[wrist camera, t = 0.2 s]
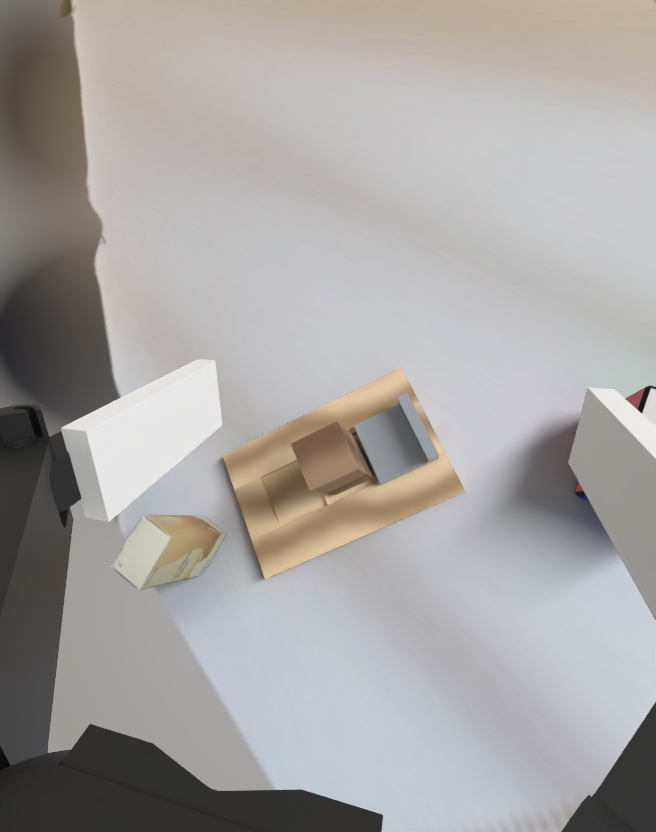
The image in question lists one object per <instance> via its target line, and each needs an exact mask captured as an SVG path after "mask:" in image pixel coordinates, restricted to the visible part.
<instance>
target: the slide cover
mask: <svg viewBox="0 0 656 832" xmlns="http://www.w3.org/2000/svg"><path fill="white" fill-rule="evenodd" d="M397 399H398V402H399V404H398V405H396V406H394V407H392V408H390V409H388V410H385V411H383V412H381V413H379V414H377V415H375V416H373V417H371V418H369V419H367V420H365V421H363V422H360V423H358V424H356V425H354V427H355V430H356V432H357V434H358V436H359V438H360V440H361V443H362V445H363V447H364V449H365V451H366V454H367V456H368V458H369V460H370V462H371V465H372V467H373V469H374V471H375V473H376V476H377V478H378V480H379V482H380V484H381V485H382V484H384V483H387V482H389V481H391V480H393V479H395V478H398V477H400V476H402V475H404V474H406V473H409V472H411V471H413V470H415V469H417V468H420V467H422V466H424V465H426V464H428V463H431V462H433V461H435V460H437V459H439V454H438V452H437V450H436V448H435V446H434V444H433V442H432V440H431V438H430V436H429V434H428V432H427V430H426V428H425V426H424V424H423V422H422V420H421V418H420V416H419V414H418V412H417V411H416V409H415V407H414V405H413V403H412V401H411V399H410V397H409V395H408V393H405V394H403V395H401V396H399V397H397Z"/></svg>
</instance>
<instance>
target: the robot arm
mask: <svg viewBox="0 0 656 832" xmlns="http://www.w3.org/2000/svg"><path fill="white" fill-rule="evenodd" d="M221 425H222V419H221V410H220V401H219V392H218V383H217V374H216V365H215V361H214V360H200V359H197V360H195V361H193V362H191V363H189V364H187V365H185V366H183V367H181V368H179V369H177V370H175V371H173V372H171V373H169V374H167V375H165V376H163V377H161V378H159V379H157V380H155V381H153V382H151V383H149V384H147V385H145V386H143V387H141V388H139V389H137V390H135V391H133V392H131V393H129V394H127V395H125V396H123V397H121V398H119V399H118V400H116V401H114V402H112V403H110V404H108V405H106V406H104V407H102V408H100V409H98V410H96V411H94V412H92V413H90V414H88V415H86V416H84V417H82V418H80V419H78V420H76V421H74V422H72V423H70V424H68V425H66V426H64V427H62V428H61V432H59V433H57V434H55V435H53V436H51V437H49V435H48V432H47V429H46V425H45V422H44V418H43V415H42V412H41V408H40V407H39V406H36V405H16V406H10V407H5V408H1V409H0V832H381V831H382V820H383V815H382V814H378V813H375V812H372V811H369V810H366V809H362V808H359V807H356V806H353V805H349V804H346V803H343V802H340V801H337V800H333V799H330V798H327V797H324V796H320V795H317V794H314V793H311V792H308V791H304V790H257V791H217V790H213V789H211V788H209V787H207V786H206V785H205V784H203V783H202V782H201V781H200V780H198V779H197V778H196V777H195V776H193V775H192V774H191V773H190V772H188V771H187V770H186V769H184V768H183V767H182V766H180V765H179V764H178V763H177V762H176V761H174V760H173V759H172V758H171V757H169V756H168V755H166V754H165V753H164V752H163V751H162V750H160V749H159V748H158V747H156V746H155V745H154V744H152V743H149V742H146V741H143V740H140V739H137V738H133V737H130V736H127V735H124V734H121V733H117V732H114V731H111V730H108V729H104V728H101V727H98V726H95V725H91V724H90V725H89V726H88V728H87V729H86V730H85V732H84V733H83V735H82V736H81V737H80V738H79V740H78V741H77V743H76V744H75V745H74V747H73V748H72V750H64V751H59V752H52V753H48V739H49V730H50V721H51V711H52V704H53V695H54V686H55V677H56V668H57V659H58V650H59V641H60V632H61V623H62V614H63V605H64V596H65V587H66V578H67V569H68V561H69V551H70V543H71V542H70V541H71V534H72V525H73V517H72V514H71V510H70V506H72V505H73V504H75V503H76V502H77V501H79V500H80V499H81V502H82V506H83V510H84V513H85V517H86V518H91V519H97V520H102V521H108V522H109V521H110V520H111V519H113V518H114V517H115V516H116V515H117V514H119V513H120V512H121V511H122V510H123V509H124V508H126V507H127V506H128V505H129V504H130V503H131V502H133V501H134V500H135V499H136V498H137V497H138V496H140V495H141V494H142V493H143V492H144V491H145V490H147V489H148V488H149V487H150V486H151V485H152V484H154V483H155V482H156V481H157V480H158V479H159V478H161V477H162V476H163V475H164V474H165V473H167V472H168V471H169V470H170V469H171V468H172V467H174V466H175V465H176V464H177V463H178V462H179V461H181V460H182V459H183V458H184V457H185V456H186V455H188V454H189V453H190V452H191V451H192V450H193V449H195V448H196V447H197V446H198V445H199V444H200V443H202V442H203V441H204V440H205V439H206V438H207V437H209V436H210V435H211V434H212V433H213V432H214V431H216V430H217V429H218V428H219V427H220V426H221ZM568 463H569V465H570V467H571V469H572V470H573V472H574V474H575V476H576V478H577V479H578V481H579V483H580V485H581V487H582V489H583V490H584V492H585V494H586V496H587V498H588V499H589V501H590V503H591V505H592V507H593V508H594V510H595V512H596V514H597V516H598V517H599V519H600V521H601V523H602V525H603V527H604V528H605V530H606V532H607V534H608V536H609V537H610V539H611V541H612V543H613V545H614V546H615V548H616V550H617V552H618V554H619V555H620V557H621V559H622V561H623V563H624V564H625V566H626V568H627V570H628V572H629V574H630V575H631V577H632V579H633V581H634V583H635V584H636V586H637V588H638V590H639V592H640V593H641V595H642V597H643V599H644V601H645V602H646V604H647V606H648V608H649V610H650V612H651V613H652V615H653V617H654V619H656V426H655V425H654V424H653V423H652V422H650V421H649V420H648V419H647V418H646V417H645V416H644V415H643V414H642V413H640V412H639V411H638V410H637V409H636V408H635V407H634V406H633V405H631V404H630V403H629V402H628V401H627V400H626V399H625V398H624V397H622V396H621V395H620V394H619V393H618V392H617V391H616V390H615V389H602V388H587V392H586V396H585V400H584V404H583V408H582V412H581V415H580V419H579V423H578V427H577V431H576V435H575V439H574V443H573V446H572V450H571V454H570V458H569V462H568ZM562 832H656V703H655V704H654V706H653V707H652V709H651V710H650V712H649V713H648V715H647V716H646V718H645V719H644V721H643V722H642V724H641V725H640V727H639V728H638V730H637V731H636V733H635V734H634V736H633V737H632V739H631V740H630V742H629V743H628V745H627V746H626V748H625V749H624V751H623V752H622V754H621V755H620V757H619V758H618V760H617V761H616V763H615V764H614V766H613V767H612V769H611V770H610V772H609V773H608V775H607V776H606V778H605V779H604V781H603V783H602V784H601V785H600V787H599V788H598V790H597V791H596V793H595V794H594V795H593V796H592V797H591V796H590V795H588V796H587V798H586V799H585V800H584V801H583V802H582V803H581V805H580V806H579V807H578V809H577V810H576V812H575V813H574V814H573V816H572V817H571V819H570V820H569V822H568V823H567V824H566V826H565V827H564V829H563V830H562Z"/></svg>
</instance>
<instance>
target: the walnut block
mask: <svg viewBox="0 0 656 832" xmlns="http://www.w3.org/2000/svg"><path fill="white" fill-rule="evenodd" d="M291 446H292V448H293V451H294V453H295V456H296V458H297V461H298V463H299V466H300V468H301V471H302V473H303V476H304V478H305V481H306V483H307V486H308V488H309V491H310V492H317V493H324V494H332V495H337V494H339V493H342V492H344V491H346V490H348V489H350V488H352V487H355V486H357V485H359V484H361V483H363V482H366V481H368V480H370V479H372V478H374V476H373V474H372V471H371V469H370V467H369V465H368V463H367V460H366V458H365V456H364V454H363V452H362V449H361V447H360V445H359V443H358V441H357V439H356V438H355V437H354V436H353V435H352V434H350V433H349V432H348V431H347V430H346V429H345V428H344V427H343V426H342V425H340V424H339V423H338V422H337V421H336V422H334V423H332V424H330V425H328V426H326V427H324V428H322V429H320V430H318V431H315V432H313V433H311V434H309V435H307V436H305V437H303V438H301V439H299V440H297V441H295V442H293V443H291Z"/></svg>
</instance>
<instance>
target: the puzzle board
mask: <svg viewBox="0 0 656 832" xmlns="http://www.w3.org/2000/svg"><path fill="white" fill-rule="evenodd" d="M405 393H408V395H409V397H410V399H411V401H412V403H413V405H414V407H415V409H416V411H417V412H418V414H419V416H420V418H421V420H422V422H423V424H424V426H425V428H426V430H427V432H428V434H429V436H430V438H431V440H432V442H433V444H434V446H435V448H436V450H437V452H438V454H439V459H437V460H435V461H433V462H431V463H428V464H426V465H424V466H422V467H420V468H417V469H415V470H413V471H411V472H409V473H406V474H404V475H402V476H400V477H398V478H395V479H393V480H391V481H389V482H387V483H384V484H382V485H381V484H380V482H379V480H378V478H377V476H376V473H375V471H374V469H373V467H372V465H371V462H370V460H369V458H368V456H367V454H366V451H365V449H364V447H363V445H362V443H361V440H360V438H359V436H358V434H357V432H356V430H355V427H354V425H356V424H358V423H360V422H363V421H365V420H367V419H369V418H371V417H373V416H375V415H377V414H379V413H381V412H383V411H385V410H388V409H390V408H392V407H394V406H396V405H398V404H399V402H398V399H397V397H399V396H401V395H403V394H405ZM336 421H337V422H338V423H339V424H340V425H342V426H343V427H344V428H345V429H346V430H347V431H348V432H349V433H350V434H352V435H353V436H354V437H355V438H356V439H357V441H358V443H359V445H360V447H361V449H362V452H363V454H364V456H365V458H366V460H367V463H368V465H369V467H370V469H371V471H372V474H373V476H374V478H372V479H370V480H368V481H366V482H363V483H361V484H359V485H357V486H355V487H352V488H350V489H348V490H346V491H344V492H342V493H339V494H337V495H332V494H324V493H317V492H310V491H309V488H308V486H307V483H306V481H305V478H304V476H303V473H302V471H301V468H300V466H299V463H298V461H297V458H296V456H295V453H294V451H293V448H292V446H291V443H293V442H295V441H297V440H299V439H301V438H303V437H305V436H307V435H309V434H311V433H313V432H315V431H318V430H320V429H322V428H324V427H326V426H328V425H330V424H332V423H334V422H336ZM222 456H223V459H224V462H225V464H226V467H227V470H228V473H229V476H230V479H231V482H232V485H233V488H234V491H235V493H236V496H237V499H238V502H239V505H240V508H241V511H242V514H243V517H244V520H245V523H246V525H247V528H248V531H249V534H250V537H251V540H252V543H253V546H254V549H255V552H256V554H257V557H258V560H259V563H260V566H261V569H262V572H263V575H264V578H265V579H267V578H269V577H271V576H274V575H276V574H278V573H281V572H283V571H285V570H287V569H290V568H292V567H294V566H296V565H299V564H301V563H303V562H306V561H308V560H310V559H312V558H315V557H317V556H319V555H321V554H324V553H326V552H328V551H331V550H333V549H335V548H337V547H340V546H342V545H344V544H346V543H349V542H351V541H353V540H356V539H358V538H360V537H362V536H365V535H367V534H369V533H371V532H374V531H376V530H378V529H381V528H383V527H385V526H387V525H390V524H392V523H394V522H397V521H399V520H401V519H403V518H406V517H408V516H410V515H412V514H415V513H417V512H419V511H422V510H424V509H426V508H428V507H431V506H433V505H435V504H437V503H440V502H442V501H444V500H447V499H449V498H451V497H453V496H456V495H458V494H460V493H462V492H465V490H464V488H463V486H462V484H461V482H460V480H459V478H458V476H457V474H456V472H455V470H454V468H453V466H452V465H451V463H450V461H449V459H448V457H447V455H446V453H445V451H444V449H443V447H442V445H441V443H440V441H439V439H438V437H437V436H436V434H435V432H434V430H433V428H432V426H431V424H430V422H429V420H428V418H427V416H426V414H425V412H424V410H423V408H422V406H421V405H420V403H419V401H418V399H417V397H416V395H415V393H414V391H413V389H412V387H411V385H410V383H409V381H408V379H407V377H406V376H405V374H404V372H403V370H402V368H399V369H397V370H395V371H393V372H391V373H389V374H387V375H385V376H383V377H381V378H379V379H377V380H375V381H372V382H370V383H368V384H366V385H364V386H362V387H360V388H358V389H356V390H354V391H352V392H350V393H348V394H346V395H344V396H342V397H340V398H338V399H336V400H334V401H332V402H330V403H328V404H326V405H324V406H322V407H320V408H318V409H315V410H313V411H311V412H309V413H307V414H305V415H303V416H301V417H299V418H297V419H295V420H293V421H291V422H289V423H287V424H285V425H283V426H281V427H279V428H277V429H275V430H273V431H271V432H269V433H267V434H265V435H263V436H261V437H258V438H256V439H254V440H252V441H250V442H248V443H246V444H244V445H242V446H240V447H238V448H236V449H234V450H232V451H230V452H228V453H226V454H224V455H222Z"/></svg>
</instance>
